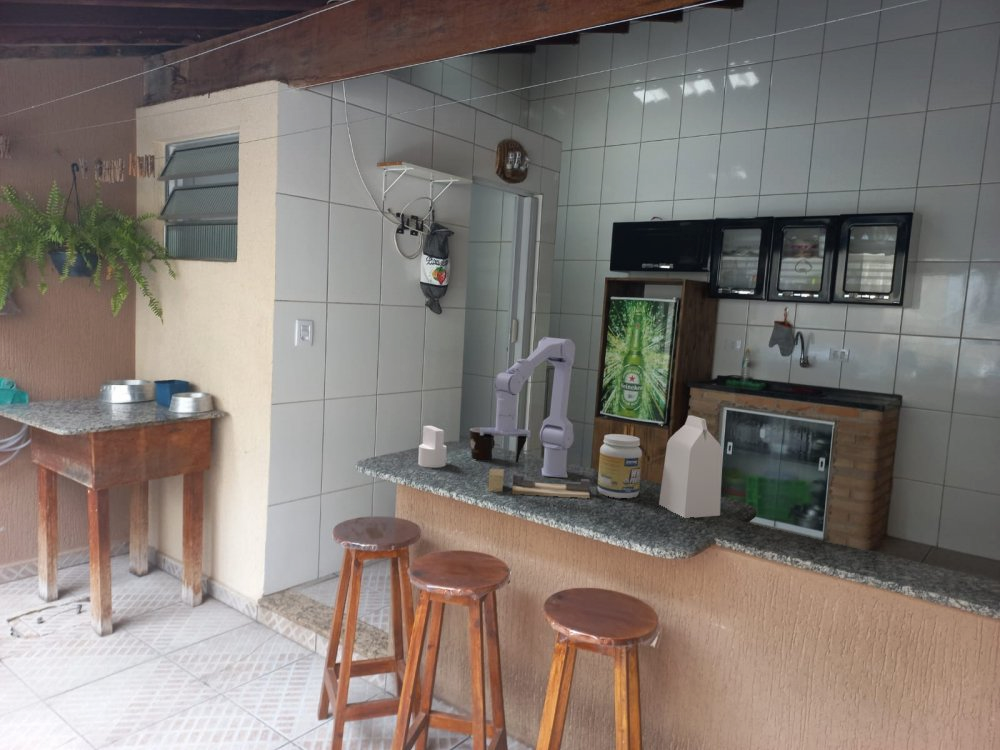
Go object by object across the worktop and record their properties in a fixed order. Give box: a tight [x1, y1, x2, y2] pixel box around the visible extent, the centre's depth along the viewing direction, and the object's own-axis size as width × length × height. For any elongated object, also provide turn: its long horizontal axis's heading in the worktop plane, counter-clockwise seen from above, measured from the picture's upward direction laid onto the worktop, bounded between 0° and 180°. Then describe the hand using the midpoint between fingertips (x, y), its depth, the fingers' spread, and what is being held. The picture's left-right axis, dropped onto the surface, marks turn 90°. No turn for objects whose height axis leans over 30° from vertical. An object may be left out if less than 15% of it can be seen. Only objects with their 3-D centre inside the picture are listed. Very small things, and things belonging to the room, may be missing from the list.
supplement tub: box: [597, 433, 643, 499], centre depth 203 cm, size 12×12×17 cm
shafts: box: [512, 473, 591, 493], centre depth 204 cm, size 4×22×3 cm, turn 88°
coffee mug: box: [469, 427, 495, 461], centre depth 237 cm, size 12×9×10 cm
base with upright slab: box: [418, 425, 448, 469], centre depth 227 cm, size 9×9×12 cm
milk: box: [658, 415, 723, 519], centre depth 190 cm, size 12×12×26 cm
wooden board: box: [512, 482, 591, 499], centre depth 203 cm, size 10×22×1 cm, turn 88°
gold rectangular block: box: [488, 468, 505, 492], centre depth 203 cm, size 4×7×5 cm, turn 178°
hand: (503, 460), depth 201 cm, fingers open, 7 cm apart
